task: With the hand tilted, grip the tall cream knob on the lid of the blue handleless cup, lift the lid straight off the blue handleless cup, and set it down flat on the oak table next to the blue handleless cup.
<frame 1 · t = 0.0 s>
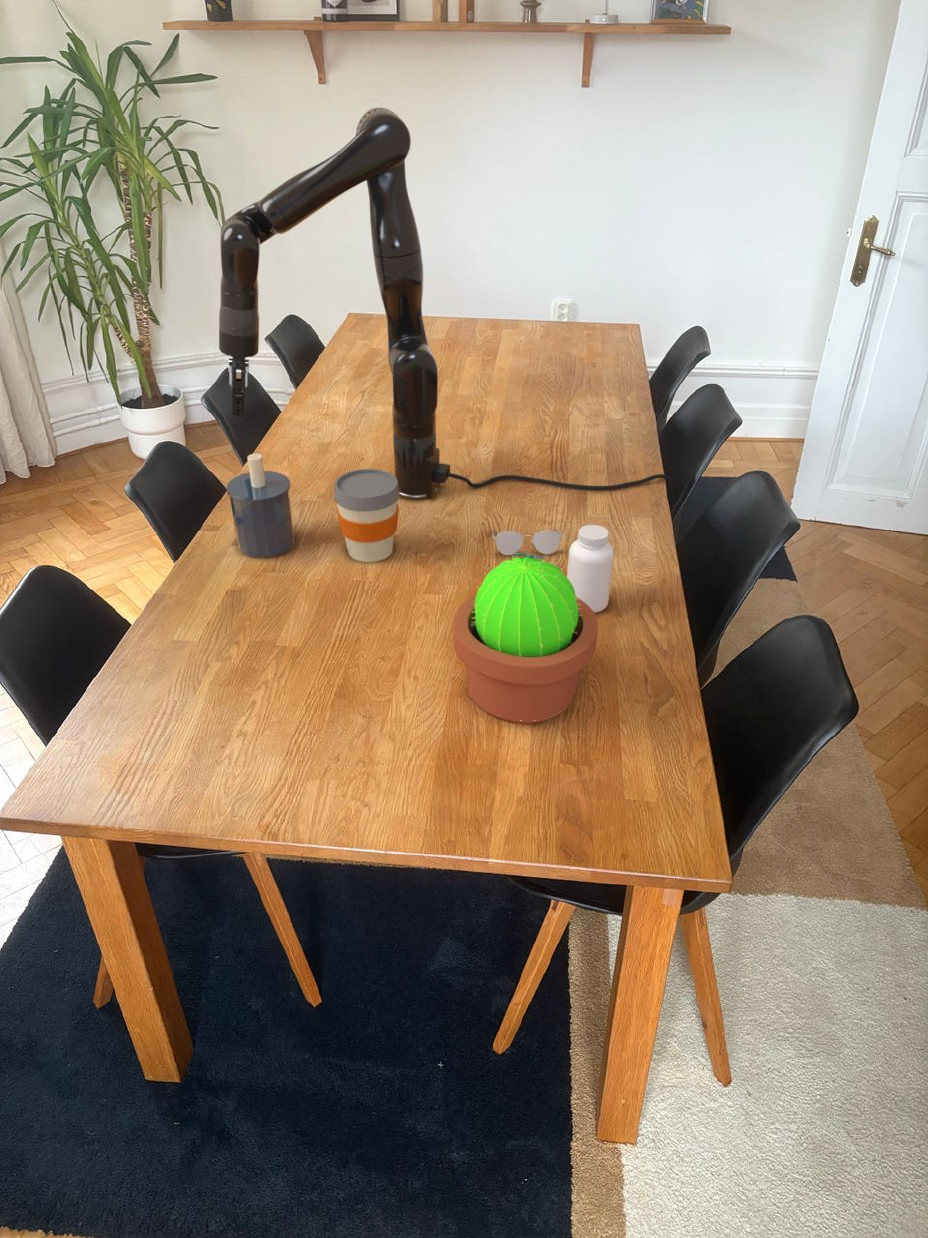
hand: (238, 407, 192), 22 cm above the table, tool pointing down, fingers open, 8 cm apart
potted cactus: (521, 690, 154), on the table
pill bottle: (586, 603, 175), on the table
lid: (258, 487, 184), point 13 cm above the table, touching blue handleless cup
reusable coffee cup: (370, 551, 190), on the table
blue handleless cup: (266, 543, 192), on the table
sunglasses: (525, 544, 192), on the table
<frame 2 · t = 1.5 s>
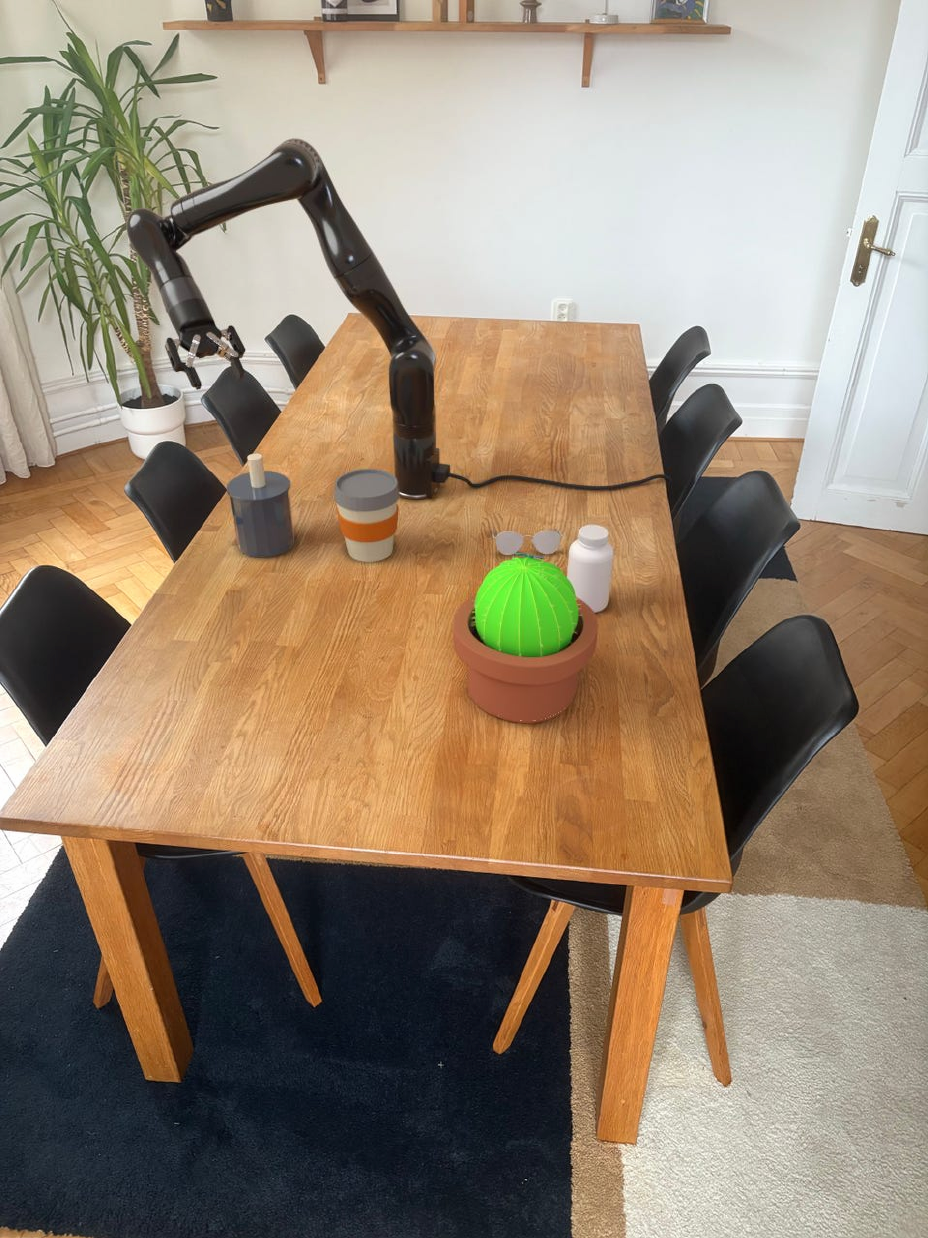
hand: (220, 382, 182), 30 cm above the table, tool tilted 45°, fingers open, 8 cm apart
nothing on the table moved.
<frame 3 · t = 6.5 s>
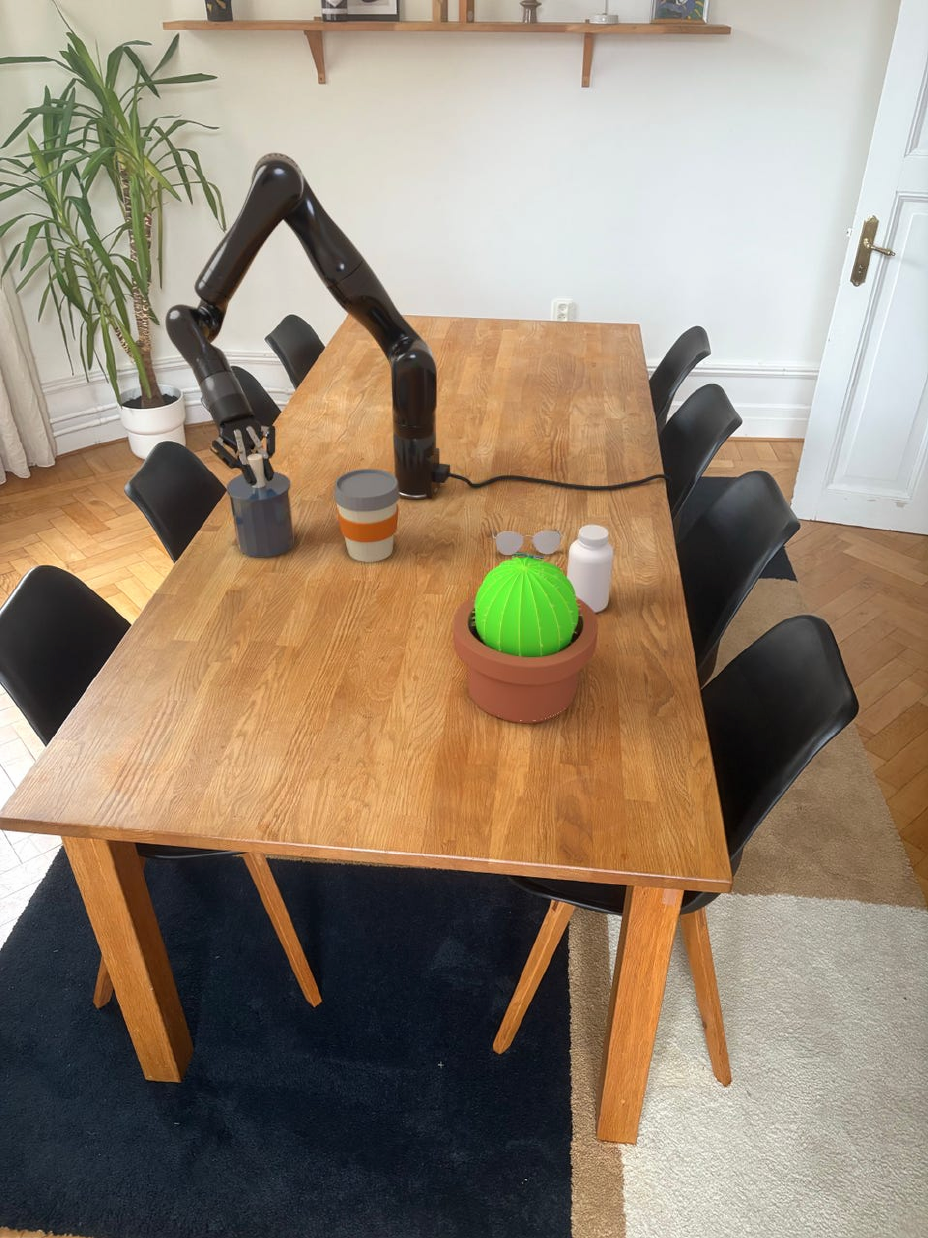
hand: (262, 481, 182), 15 cm above the table, tool tilted 45°, fingers closed on lid, 3 cm apart
lid: (258, 487, 184), point 13 cm above the table, touching gripper, blue handleless cup
everything else where it was.
when the fingers open (3 cm above the table, at t = 19.1 s): lid stays where it is, point 1 cm above the table.
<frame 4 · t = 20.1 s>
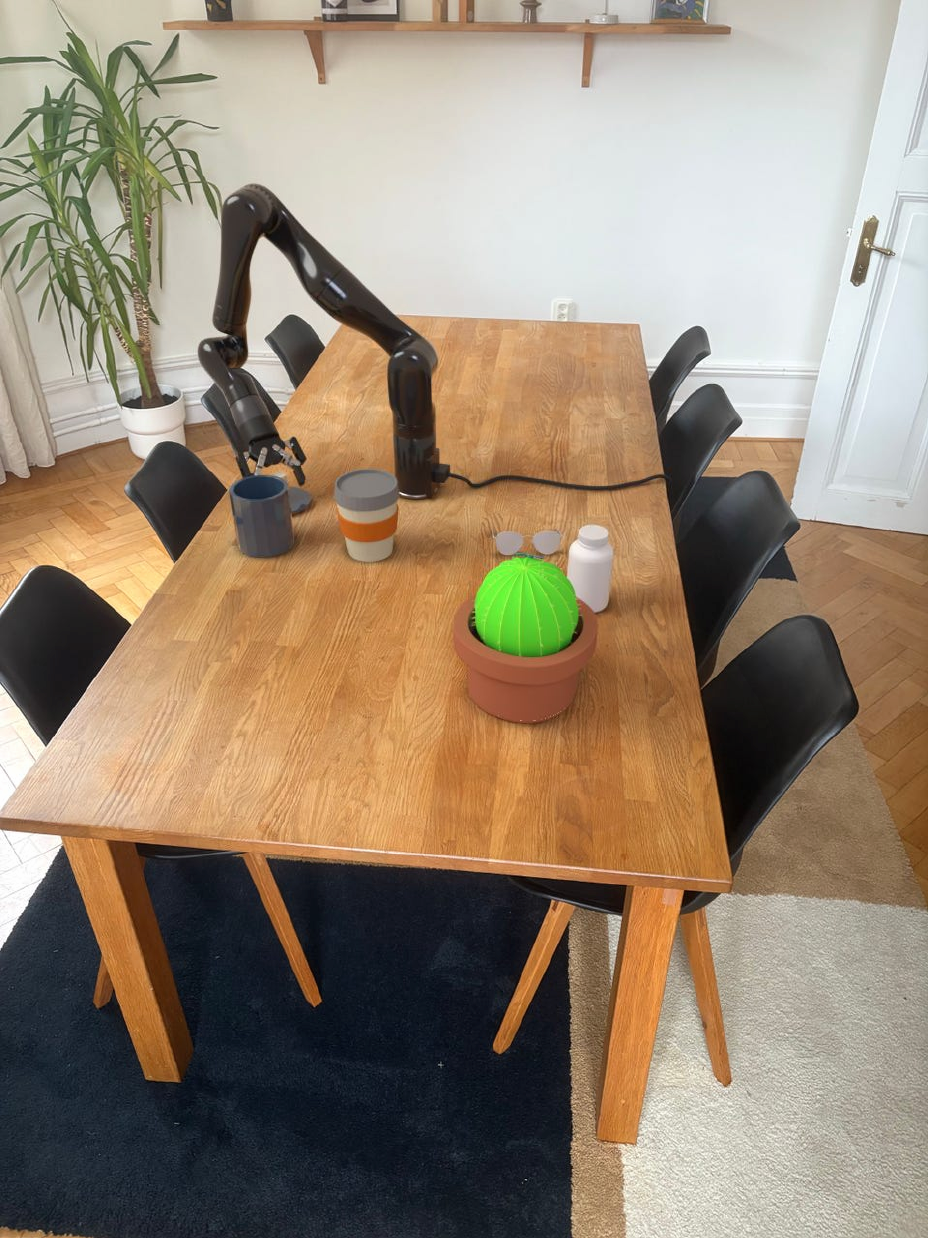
hand: (284, 489, 202), 4 cm above the table, tool tilted 45°, fingers open, 8 cm apart
lid: (282, 501, 205), point 1 cm above the table
everything else where it was.
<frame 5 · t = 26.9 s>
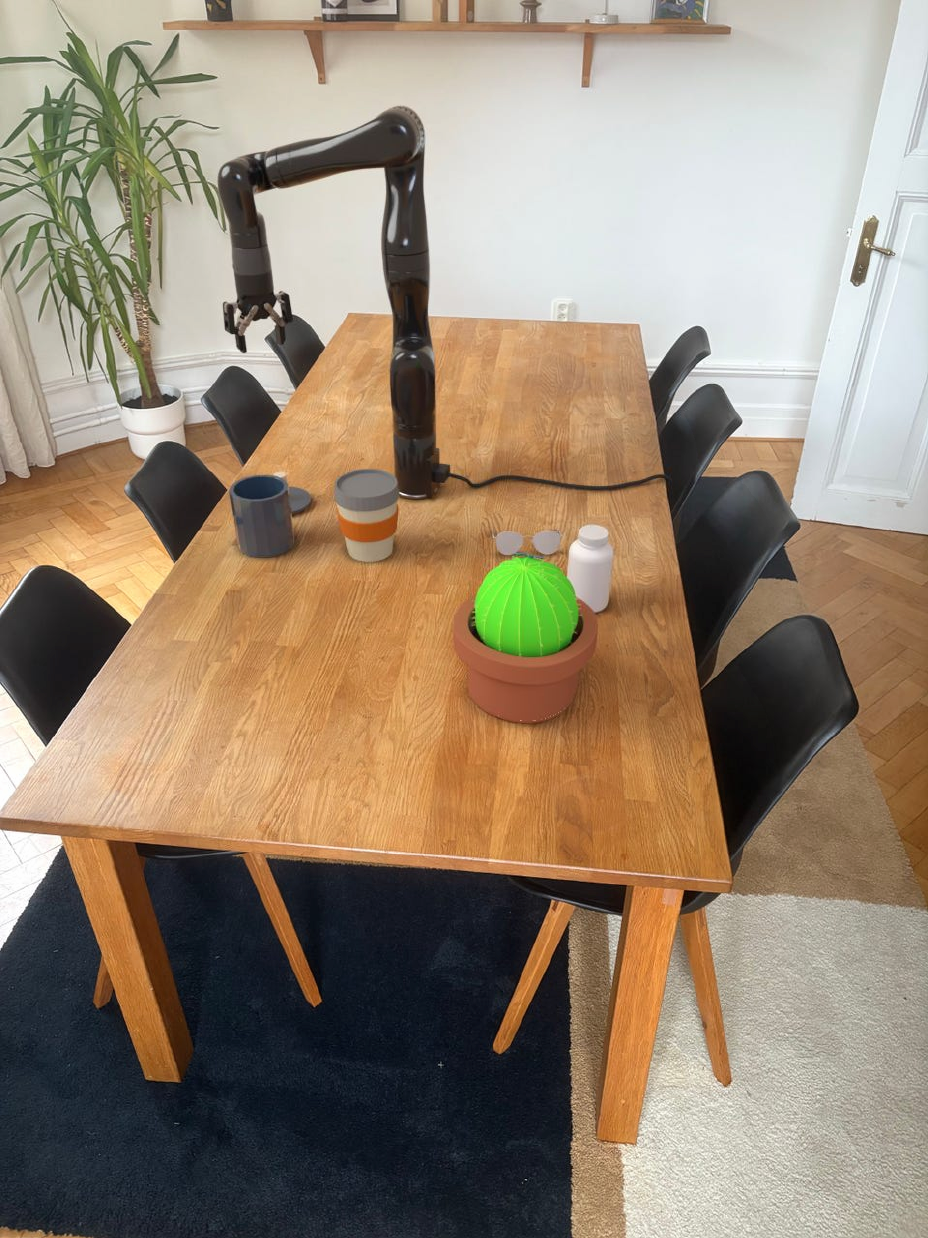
hand: (262, 347, 198), 30 cm above the table, tool pointing down, fingers open, 8 cm apart
nothing on the table moved.
at the end: lid inside the target area (0.2 cm from its centre), point 0.6 cm above the table; lid tilted 0°; the gripper is holding nothing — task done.
